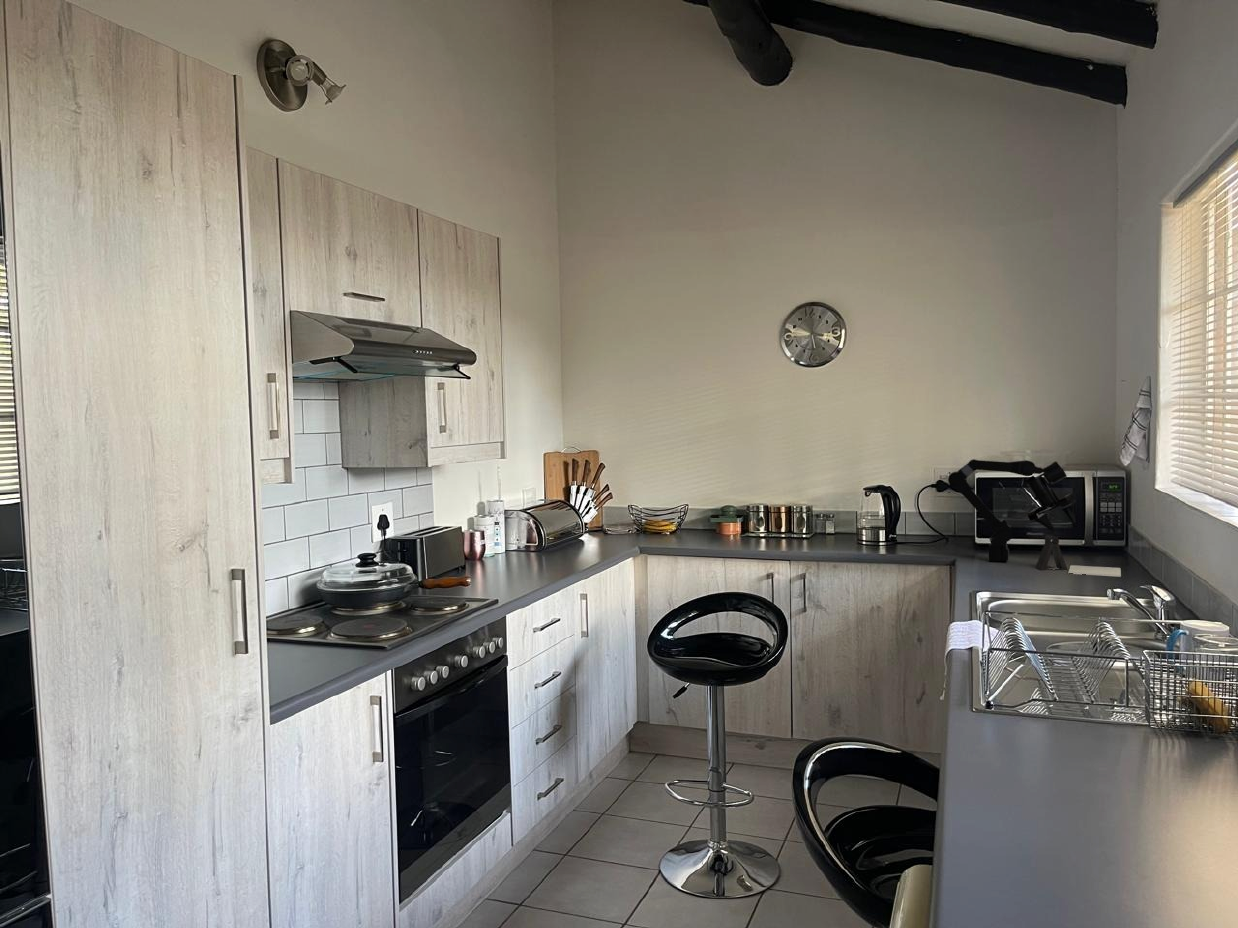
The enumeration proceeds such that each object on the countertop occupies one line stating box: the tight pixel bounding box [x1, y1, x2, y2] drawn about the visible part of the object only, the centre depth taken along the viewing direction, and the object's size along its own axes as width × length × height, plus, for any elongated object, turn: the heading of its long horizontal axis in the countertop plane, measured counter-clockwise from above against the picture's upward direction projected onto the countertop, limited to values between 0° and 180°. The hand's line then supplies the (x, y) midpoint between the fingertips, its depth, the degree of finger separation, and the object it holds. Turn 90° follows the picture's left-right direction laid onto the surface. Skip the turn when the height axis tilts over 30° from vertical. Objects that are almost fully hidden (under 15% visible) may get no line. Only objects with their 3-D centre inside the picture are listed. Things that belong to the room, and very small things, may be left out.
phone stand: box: [1035, 534, 1069, 571], centre depth 347 cm, size 9×6×12 cm, turn 84°
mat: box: [1068, 564, 1122, 578], centre depth 340 cm, size 16×18×1 cm
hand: (1064, 527), depth 360 cm, fingers open, 9 cm apart
